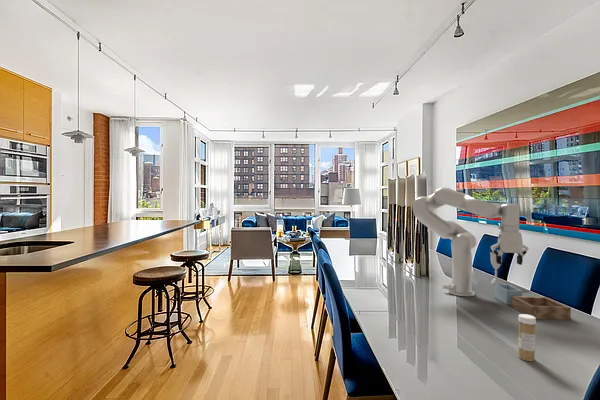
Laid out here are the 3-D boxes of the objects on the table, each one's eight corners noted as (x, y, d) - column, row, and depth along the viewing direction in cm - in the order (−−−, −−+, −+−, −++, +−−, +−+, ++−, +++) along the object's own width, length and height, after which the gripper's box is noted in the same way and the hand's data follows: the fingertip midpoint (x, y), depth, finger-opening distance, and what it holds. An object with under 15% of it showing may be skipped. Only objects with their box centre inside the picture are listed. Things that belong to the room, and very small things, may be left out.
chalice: (504, 285, 202) (504, 254, 201) (491, 284, 203) (492, 253, 203) (499, 282, 209) (500, 252, 209) (487, 281, 210) (488, 251, 210)
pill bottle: (519, 353, 112) (520, 312, 111) (536, 358, 108) (537, 315, 108) (516, 358, 108) (517, 315, 108) (533, 363, 105) (534, 319, 105)
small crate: (506, 305, 163) (506, 290, 163) (494, 298, 174) (495, 284, 174) (521, 305, 163) (522, 290, 163) (509, 298, 174) (509, 284, 174)
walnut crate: (531, 318, 145) (532, 306, 145) (511, 306, 161) (511, 296, 161) (570, 319, 144) (570, 307, 144) (546, 307, 160) (546, 297, 160)
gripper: (495, 229, 165) (494, 265, 165) (533, 230, 164) (532, 266, 164) (487, 227, 172) (487, 262, 173) (523, 228, 171) (522, 263, 172)
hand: (509, 264), depth 168 cm, fingers open, 9 cm apart
